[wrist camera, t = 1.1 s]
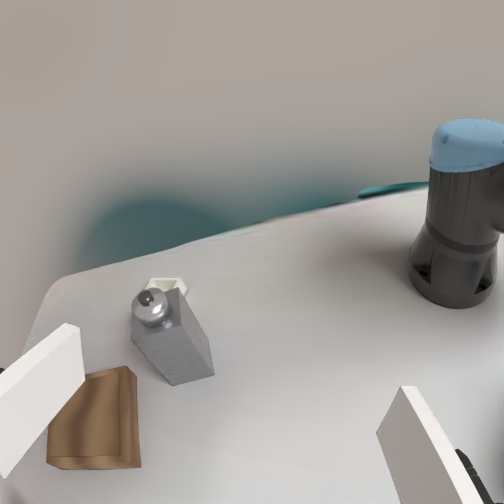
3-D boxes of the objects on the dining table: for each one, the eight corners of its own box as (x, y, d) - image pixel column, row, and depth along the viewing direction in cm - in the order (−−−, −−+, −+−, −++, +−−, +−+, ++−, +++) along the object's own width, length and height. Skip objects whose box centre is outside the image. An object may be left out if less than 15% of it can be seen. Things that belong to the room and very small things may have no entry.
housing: (208, 339, 42) (169, 269, 33) (214, 375, 37) (170, 308, 29) (169, 350, 42) (122, 285, 33) (172, 385, 37) (118, 324, 28)
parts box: (158, 289, 53) (151, 277, 51) (187, 290, 51) (181, 277, 49) (140, 325, 47) (132, 313, 45) (171, 328, 45) (163, 316, 43)
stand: (136, 376, 39) (125, 364, 37) (141, 467, 28) (126, 460, 26) (65, 390, 38) (53, 380, 36) (60, 469, 27) (45, 462, 25)
